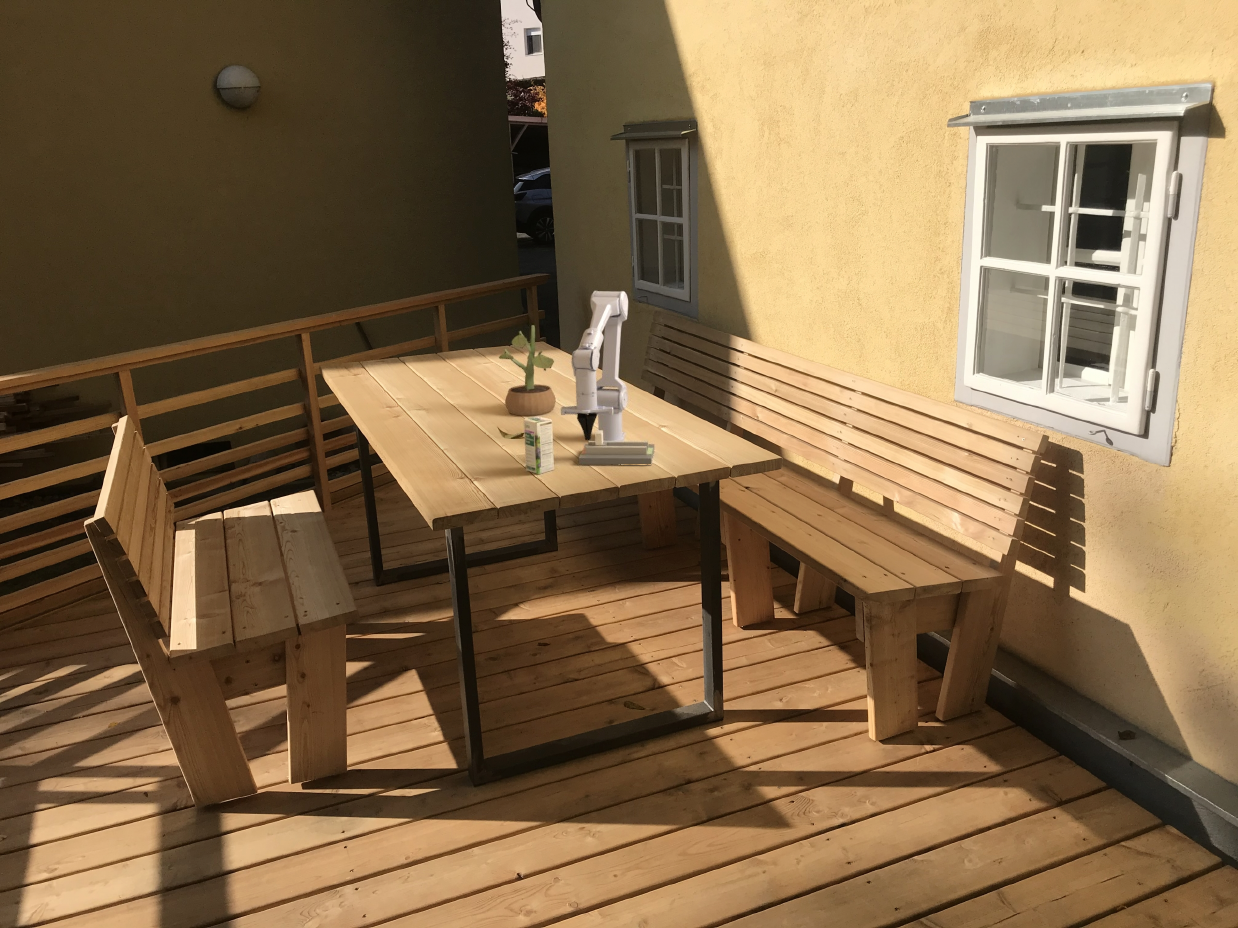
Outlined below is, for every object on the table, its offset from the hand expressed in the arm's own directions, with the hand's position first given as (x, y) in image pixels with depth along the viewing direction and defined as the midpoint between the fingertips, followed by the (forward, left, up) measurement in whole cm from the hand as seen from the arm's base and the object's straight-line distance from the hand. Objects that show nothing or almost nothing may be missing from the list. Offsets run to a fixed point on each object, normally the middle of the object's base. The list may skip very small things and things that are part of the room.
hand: (588, 439), depth 277 cm
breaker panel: (0, +8, -5) cm, 10 cm away
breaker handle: (0, +3, -3) cm, 4 cm away
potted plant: (-51, -26, -6) cm, 57 cm away
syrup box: (+12, -12, -6) cm, 18 cm away
